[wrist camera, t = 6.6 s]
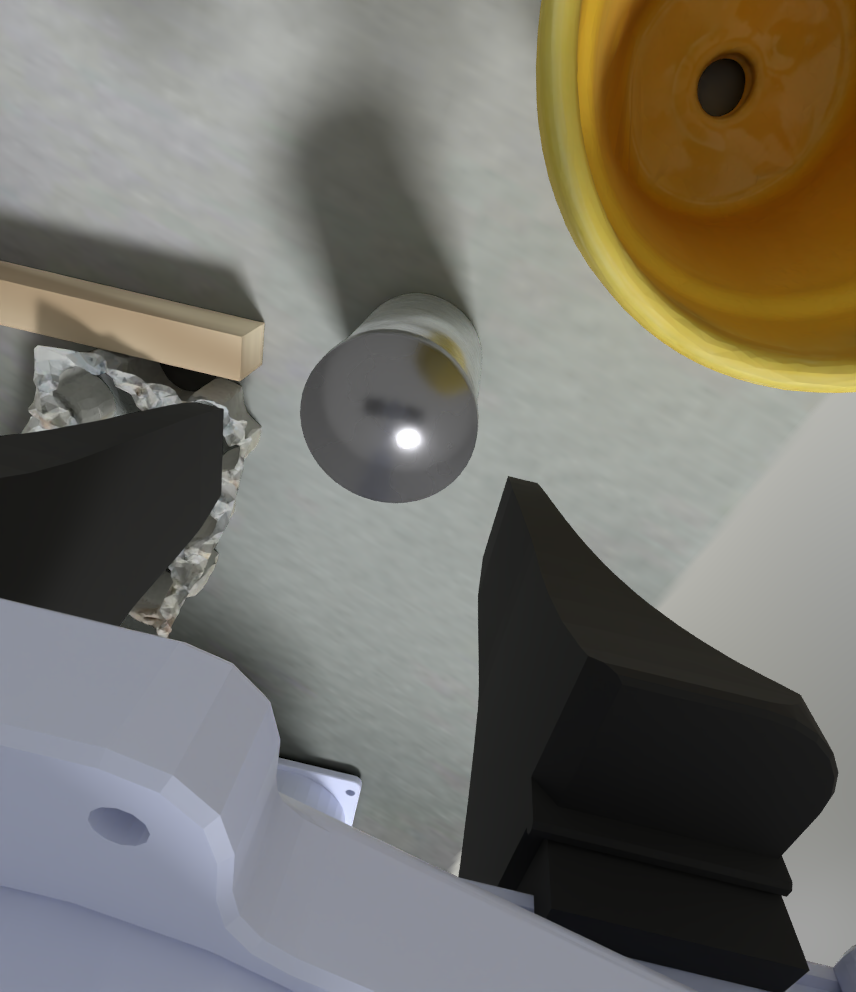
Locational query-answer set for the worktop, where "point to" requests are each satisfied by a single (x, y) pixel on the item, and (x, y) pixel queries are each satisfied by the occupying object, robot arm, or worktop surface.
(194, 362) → the beech bay
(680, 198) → the plant pot
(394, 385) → the jar with metallic lid
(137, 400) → the egg carton
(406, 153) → the worktop surface
